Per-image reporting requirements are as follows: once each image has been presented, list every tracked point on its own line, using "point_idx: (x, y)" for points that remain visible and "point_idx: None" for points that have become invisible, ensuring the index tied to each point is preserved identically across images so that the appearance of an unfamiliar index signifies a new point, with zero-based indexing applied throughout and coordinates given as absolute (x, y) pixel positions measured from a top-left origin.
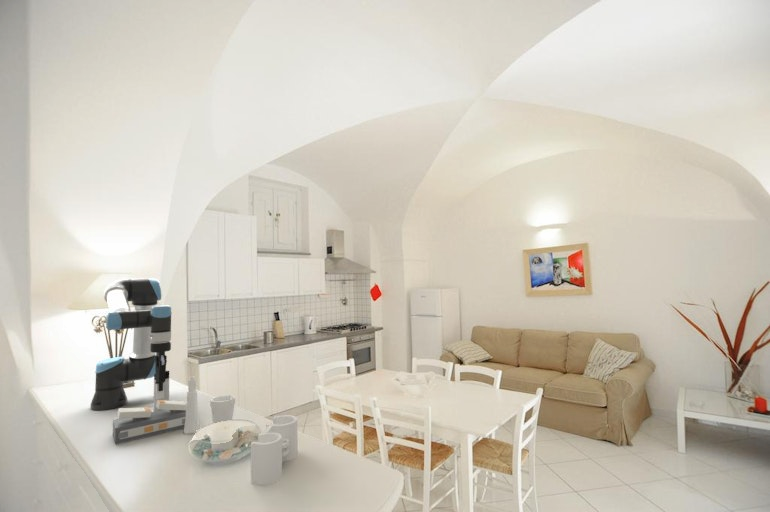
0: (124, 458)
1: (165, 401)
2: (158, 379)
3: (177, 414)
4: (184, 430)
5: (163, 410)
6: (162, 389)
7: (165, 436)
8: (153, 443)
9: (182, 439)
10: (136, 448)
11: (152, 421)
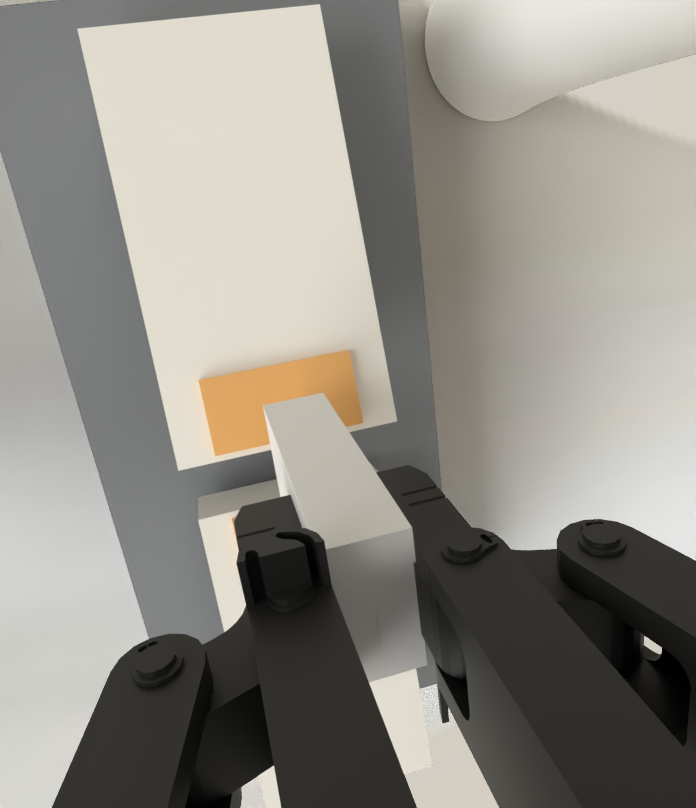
0: (688, 495)
1: (232, 350)
2: (657, 707)
3: (393, 172)
4: (520, 112)
5: (102, 338)
6: (428, 480)
7: (475, 275)
8: (565, 356)
9: (634, 143)
10: (579, 454)
11: (430, 421)
